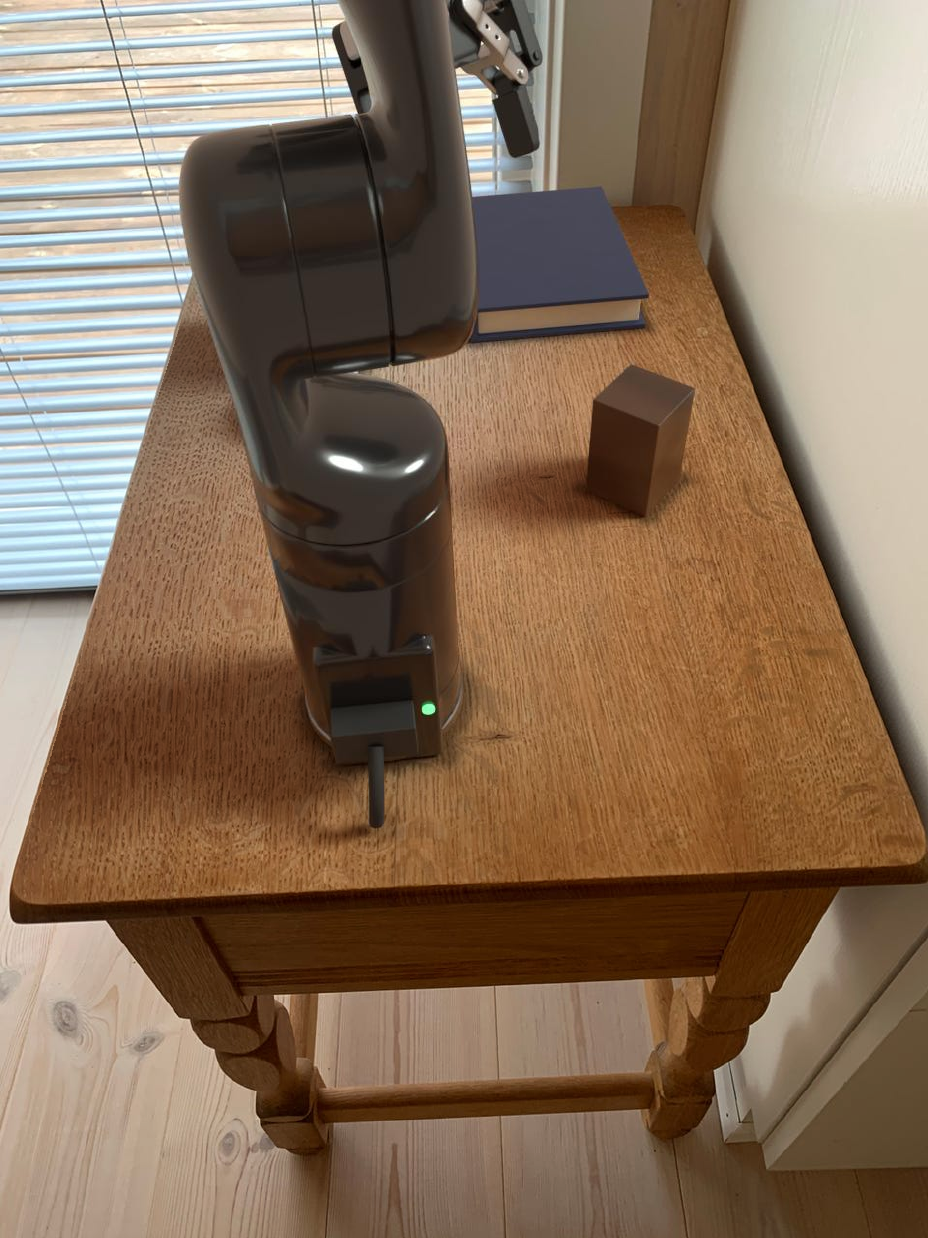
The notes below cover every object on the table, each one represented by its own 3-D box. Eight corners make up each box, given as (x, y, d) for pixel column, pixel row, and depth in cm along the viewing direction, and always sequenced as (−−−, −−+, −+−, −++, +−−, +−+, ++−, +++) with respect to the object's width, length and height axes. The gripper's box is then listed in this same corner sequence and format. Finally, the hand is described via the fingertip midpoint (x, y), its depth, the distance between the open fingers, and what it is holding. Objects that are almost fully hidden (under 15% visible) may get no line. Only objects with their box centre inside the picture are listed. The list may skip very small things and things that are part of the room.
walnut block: (645, 517, 69) (658, 425, 63) (585, 490, 71) (592, 399, 65) (679, 479, 72) (696, 387, 66) (620, 454, 74) (631, 363, 68)
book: (645, 327, 85) (649, 294, 83) (470, 342, 84) (469, 309, 82) (599, 217, 98) (601, 185, 96) (448, 230, 98) (446, 198, 95)
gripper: (334, -133, 48) (452, 202, 56) (513, -175, 56) (596, 126, 63) (253, -72, 54) (370, 226, 61) (426, -118, 61) (512, 153, 68)
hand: (485, 174), depth 62 cm, fingers open, 8 cm apart
